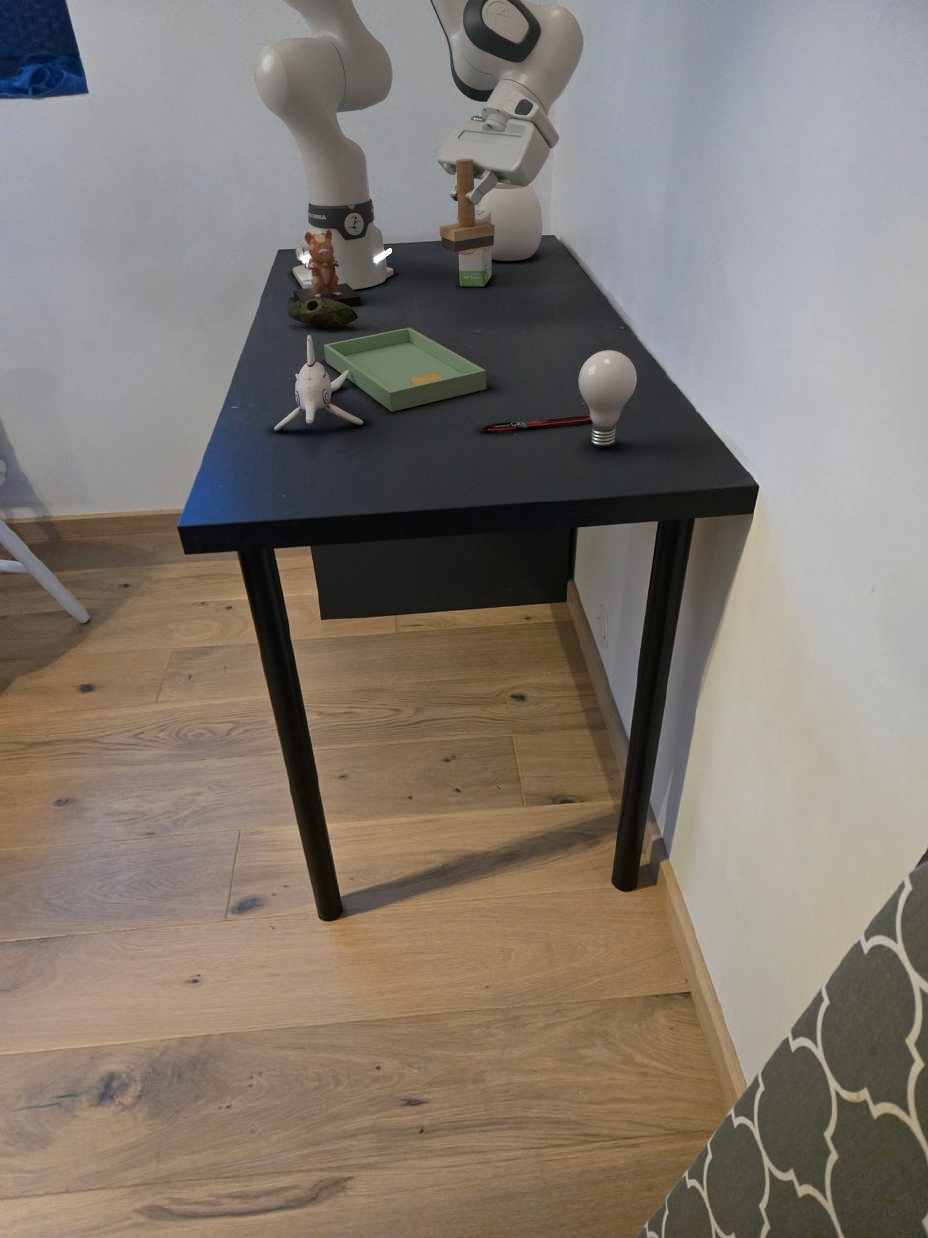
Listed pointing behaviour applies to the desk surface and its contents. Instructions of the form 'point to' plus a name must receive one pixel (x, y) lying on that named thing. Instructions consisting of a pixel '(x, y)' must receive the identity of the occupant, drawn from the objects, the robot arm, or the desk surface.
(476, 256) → the ink box
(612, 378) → the lightbulb
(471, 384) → the tray
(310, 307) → the decorative stone
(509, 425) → the pen
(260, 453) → the desk surface
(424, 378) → the orange block
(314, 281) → the figurine
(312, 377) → the dolphin figurine
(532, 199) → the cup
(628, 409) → the desk surface
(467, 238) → the wooden peg on base
